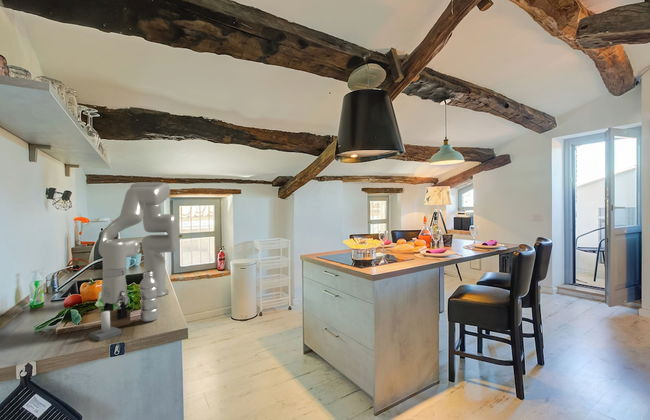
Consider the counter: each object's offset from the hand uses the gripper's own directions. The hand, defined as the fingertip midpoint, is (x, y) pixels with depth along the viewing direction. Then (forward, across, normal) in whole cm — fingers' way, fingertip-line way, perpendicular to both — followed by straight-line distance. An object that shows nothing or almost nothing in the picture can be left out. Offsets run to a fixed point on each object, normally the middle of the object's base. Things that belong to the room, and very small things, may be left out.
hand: (115, 316), depth 118 cm
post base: (+4, +7, -7) cm, 10 cm away
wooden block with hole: (+4, 0, 0) cm, 4 cm away
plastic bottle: (+4, +7, +9) cm, 12 cm away
